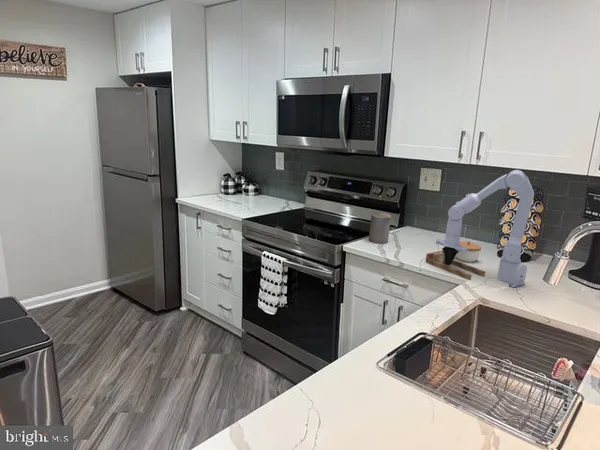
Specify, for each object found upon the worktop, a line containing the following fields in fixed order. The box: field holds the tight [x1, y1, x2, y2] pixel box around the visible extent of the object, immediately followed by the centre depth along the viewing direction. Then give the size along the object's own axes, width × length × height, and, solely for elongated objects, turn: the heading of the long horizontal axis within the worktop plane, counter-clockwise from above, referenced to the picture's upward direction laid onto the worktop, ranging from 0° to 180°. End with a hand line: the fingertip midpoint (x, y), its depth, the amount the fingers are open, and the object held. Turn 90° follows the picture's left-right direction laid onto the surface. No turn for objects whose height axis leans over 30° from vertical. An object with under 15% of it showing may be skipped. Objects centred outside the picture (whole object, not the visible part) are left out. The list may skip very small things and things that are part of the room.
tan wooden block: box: [433, 252, 446, 265], centre depth 185 cm, size 5×5×4 cm
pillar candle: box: [368, 212, 392, 245], centre depth 215 cm, size 10×10×15 cm
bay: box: [425, 250, 486, 281], centre depth 180 cm, size 22×10×5 cm, turn 33°
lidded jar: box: [455, 240, 482, 263], centre depth 192 cm, size 11×11×9 cm
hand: (448, 264), depth 182 cm, fingers closed
